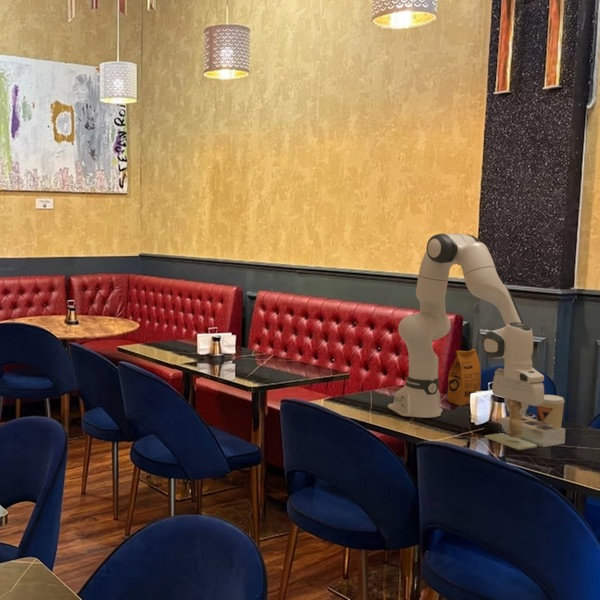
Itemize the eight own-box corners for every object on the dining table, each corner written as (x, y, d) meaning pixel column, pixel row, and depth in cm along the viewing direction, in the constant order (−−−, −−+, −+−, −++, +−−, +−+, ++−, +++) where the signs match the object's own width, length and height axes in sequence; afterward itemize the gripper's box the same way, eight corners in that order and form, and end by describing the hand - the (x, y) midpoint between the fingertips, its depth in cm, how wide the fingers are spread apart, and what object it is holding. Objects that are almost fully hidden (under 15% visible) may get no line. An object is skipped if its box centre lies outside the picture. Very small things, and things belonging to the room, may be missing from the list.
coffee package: (443, 401, 297) (445, 348, 295) (466, 398, 303) (468, 347, 301) (459, 406, 288) (461, 352, 286) (483, 403, 294) (485, 350, 292)
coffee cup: (529, 428, 258) (531, 395, 257) (550, 426, 261) (552, 393, 260) (547, 435, 249) (548, 401, 248) (568, 433, 252) (570, 399, 251)
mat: (484, 437, 245) (484, 435, 245) (502, 434, 249) (502, 432, 249) (518, 450, 231) (518, 448, 231) (537, 447, 235) (537, 445, 235)
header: (499, 431, 252) (500, 417, 252) (520, 428, 257) (521, 415, 256) (542, 447, 235) (543, 432, 234) (564, 443, 239) (565, 428, 239)
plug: (506, 435, 239) (507, 399, 238) (515, 434, 241) (516, 398, 240) (514, 438, 235) (516, 402, 234) (524, 437, 237) (525, 401, 236)
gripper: (488, 367, 244) (486, 407, 245) (533, 378, 226) (531, 421, 227) (502, 366, 247) (501, 405, 248) (548, 377, 229) (546, 419, 230)
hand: (516, 413), depth 237 cm, fingers closed on plug, 4 cm apart
